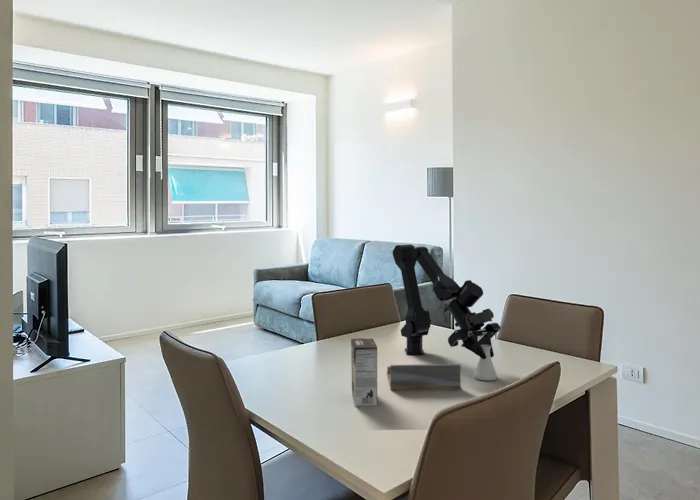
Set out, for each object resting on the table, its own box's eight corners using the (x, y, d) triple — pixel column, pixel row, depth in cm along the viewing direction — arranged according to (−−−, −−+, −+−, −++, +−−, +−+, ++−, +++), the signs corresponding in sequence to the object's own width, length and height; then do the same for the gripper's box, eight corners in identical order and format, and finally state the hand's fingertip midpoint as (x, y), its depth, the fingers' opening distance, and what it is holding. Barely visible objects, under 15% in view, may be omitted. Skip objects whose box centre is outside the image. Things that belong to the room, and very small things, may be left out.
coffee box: (350, 394, 148) (350, 338, 146) (373, 393, 148) (373, 337, 147) (353, 406, 139) (353, 347, 137) (377, 405, 139) (377, 346, 138)
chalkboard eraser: (386, 374, 164) (386, 352, 164) (450, 373, 165) (450, 351, 164) (390, 390, 151) (390, 366, 150) (460, 389, 151) (460, 365, 150)
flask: (498, 382, 157) (498, 349, 156) (473, 380, 158) (474, 348, 157) (496, 374, 164) (497, 343, 163) (472, 373, 165) (473, 342, 164)
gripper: (454, 304, 157) (482, 348, 149) (496, 297, 167) (524, 338, 159) (436, 325, 164) (461, 368, 156) (477, 317, 175) (503, 357, 166)
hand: (489, 357), depth 159 cm, fingers closed on flask, 3 cm apart
